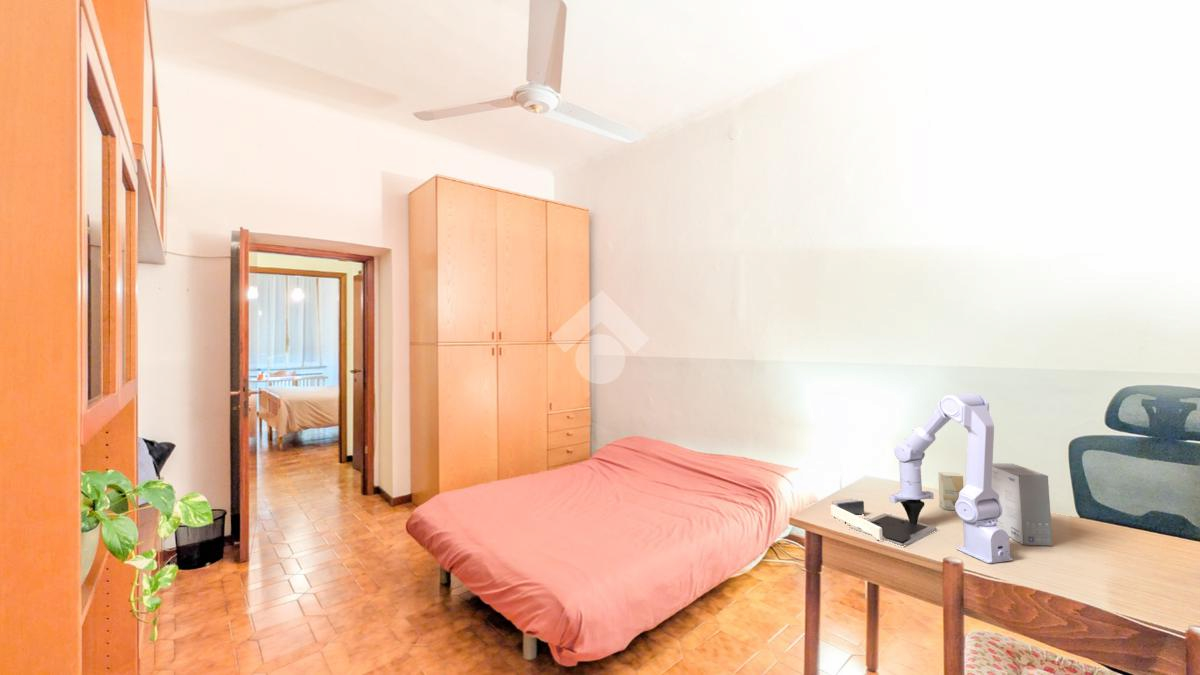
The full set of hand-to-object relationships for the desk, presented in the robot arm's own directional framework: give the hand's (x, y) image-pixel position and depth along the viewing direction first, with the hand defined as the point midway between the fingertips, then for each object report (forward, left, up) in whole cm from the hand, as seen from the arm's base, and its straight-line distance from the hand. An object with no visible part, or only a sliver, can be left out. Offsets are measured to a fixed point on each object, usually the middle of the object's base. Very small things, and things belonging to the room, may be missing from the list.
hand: (913, 523), depth 150 cm
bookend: (+11, +13, -1) cm, 17 cm away
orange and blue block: (+15, +13, -1) cm, 20 cm away
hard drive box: (-14, -23, -1) cm, 27 cm away
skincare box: (+10, -25, -1) cm, 27 cm away
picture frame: (-1, +9, -2) cm, 9 cm away
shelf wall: (+4, +18, -1) cm, 18 cm away
